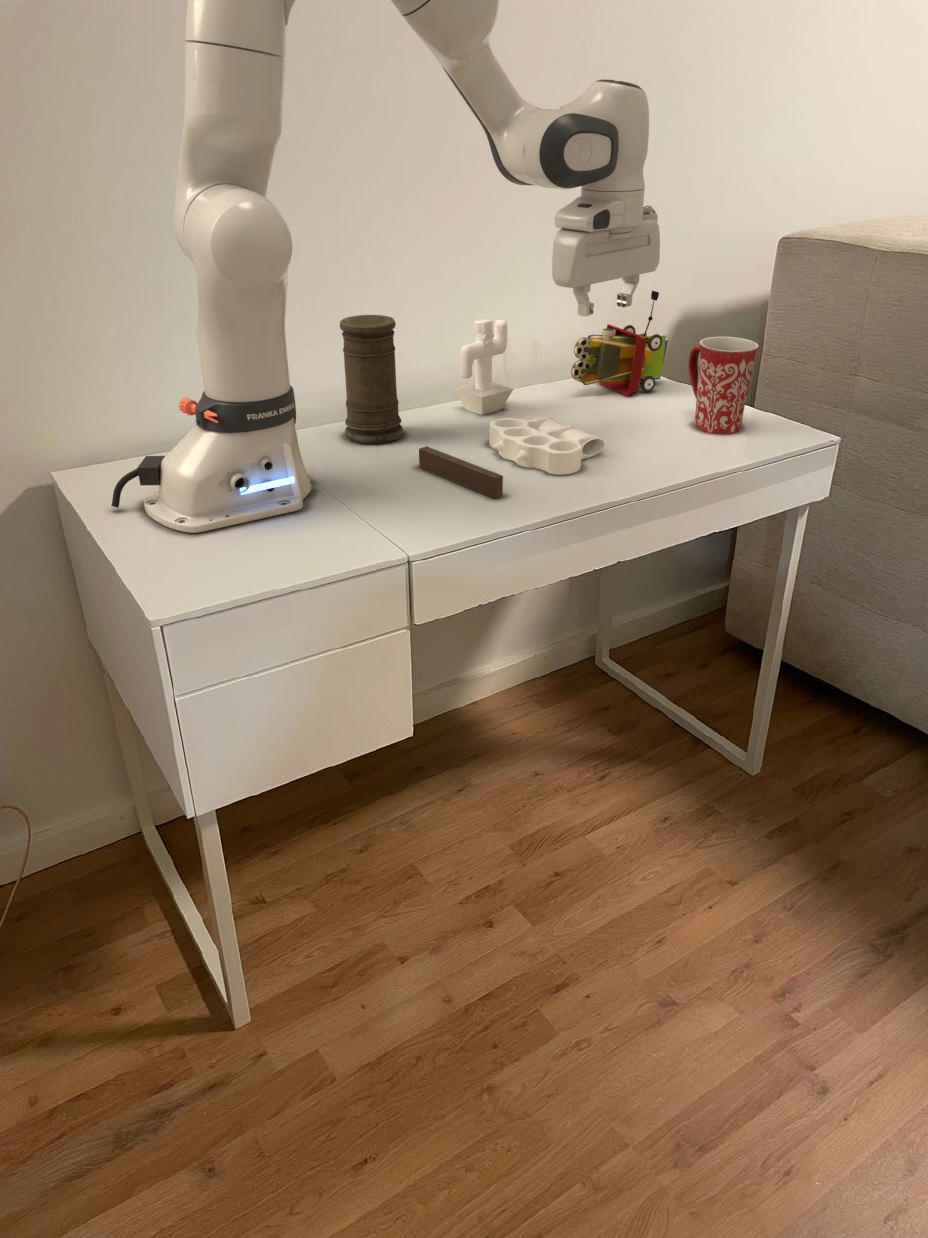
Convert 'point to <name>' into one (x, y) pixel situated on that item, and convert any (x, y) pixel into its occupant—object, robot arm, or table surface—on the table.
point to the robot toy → (621, 358)
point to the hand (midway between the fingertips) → (605, 310)
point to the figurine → (483, 369)
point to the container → (370, 379)
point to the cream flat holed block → (543, 444)
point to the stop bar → (461, 472)
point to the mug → (721, 382)
